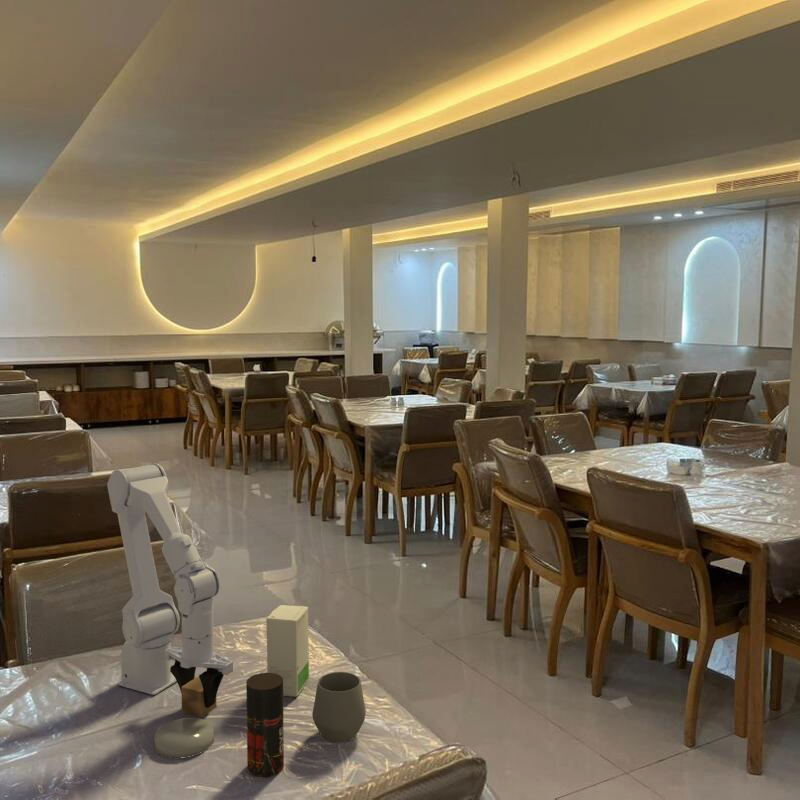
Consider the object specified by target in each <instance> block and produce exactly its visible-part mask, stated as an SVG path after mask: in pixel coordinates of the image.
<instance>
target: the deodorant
mask: <svg viewBox="0 0 800 800" xmlns="http://www.w3.org/2000/svg"><path fill="white" fill-rule="evenodd" d="M245 681H246V688H245V689H246V743H247V744H246V746H247V747H246V750H247V751H246V752H247V753H246V756H247V757H246V758H247V759H246V760H247V762H246V763H247V766H246V768H247V772H248V774H249V775H251V776H252V777H255V778H260V779H261V778H262V779H263V778H265V779H266V778H271V777H274V776H276V775H279V774H280V773H281V772H282V771H283V769H284V767H285V763H284V762H285V761H284V760H285V758H284V757H285V755H284V753H285V749H284V748H285V747H284V746H285V745H284V744H285V742H284V740H285V739H284V737H285V735H284V733H285V732H284V696H283V678H282V677H281V676H280V675H278V674H275V673H267V672H260V673H256V674H254V675H251V676H250V677H248V678H247V680H245Z"/></svg>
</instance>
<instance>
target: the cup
mask: <svg viewBox="0 0 800 800" xmlns="http://www.w3.org/2000/svg"><path fill="white" fill-rule="evenodd" d="M361 681H362V680H361V679H360V677H359V676H357V675H356V674H354V673H351V672H348V671H347V672H346V671H333V672H329V673H326V674H324V675H322V676H321V677H320V678H318V682H317V686H316V691H315V697H314V703H313V707H312V708H313V709H312V715H311V716H312V720H313V723H314V725H315V727H316V728H317V730H318V732H319V734H320V736H321V737H322V738H323V739H324V740H326V741H328V742H329V743H336V744H337V743H339V744H340V743H341V744H342V743H346V742H349V741H351V740H353V739H354V738H356V736H357V735H358V734H359V732H360V730H361V728H362V726H363V724H364V723H365V720H366V713H367V711H366V705H365V699H364V694H363V688H362V682H361Z"/></svg>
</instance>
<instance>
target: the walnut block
mask: <svg viewBox="0 0 800 800" xmlns="http://www.w3.org/2000/svg"><path fill="white" fill-rule="evenodd" d="M180 694H181V713H184V714H187V715H190V716H194V717H196V718H200V719H202V718H203V717H205V716H206V715H208V714H209V712H211V711H213V710H215V708H217V707H218V705H217V699H216V700H215V704H213V705H212V706H210V707H209V708H206V707H205V704H204V692H203V687H202V683H201V680H200V678H199V676H196V677H195V678H194V679H193V680H191V681H190V682H188V683H187V684H185V685H184V686H182V687H181V690H180Z"/></svg>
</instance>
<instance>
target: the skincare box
mask: <svg viewBox="0 0 800 800" xmlns="http://www.w3.org/2000/svg"><path fill="white" fill-rule="evenodd" d="M265 620H266V621H265V623H266V663H267V664H266V665H267V667H266V669H267V671H266V673H275V674H278V675H280V676H281V677H282V678H283V697H291V698H292V697H293V698H294V697H295V698H298V696H299V694H300V693H301V692H302V690H303V689H304V688H305V686H306V684H307V683H308V682H309V680H310V650H309V649H310V647H309V645H310V644H309V606H304V605H285V604H280V605H278V607H276V608H275V609H274V610H272V611H271V613H270V614H269V615H268V616H267V617H266V619H265Z"/></svg>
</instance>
